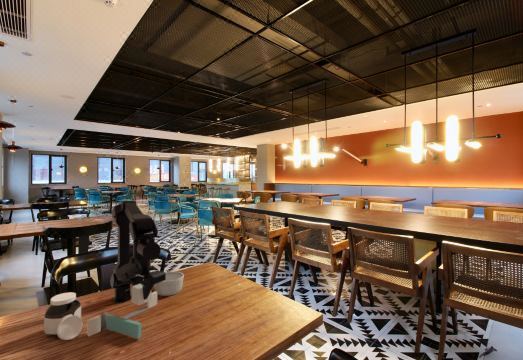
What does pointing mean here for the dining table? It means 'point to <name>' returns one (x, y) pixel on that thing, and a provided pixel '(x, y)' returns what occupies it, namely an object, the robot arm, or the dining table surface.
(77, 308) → the spread jar
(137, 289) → the block
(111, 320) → the long teal plank
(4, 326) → the dining table surface
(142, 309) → the door frame
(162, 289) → the ramekin
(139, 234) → the robot arm
